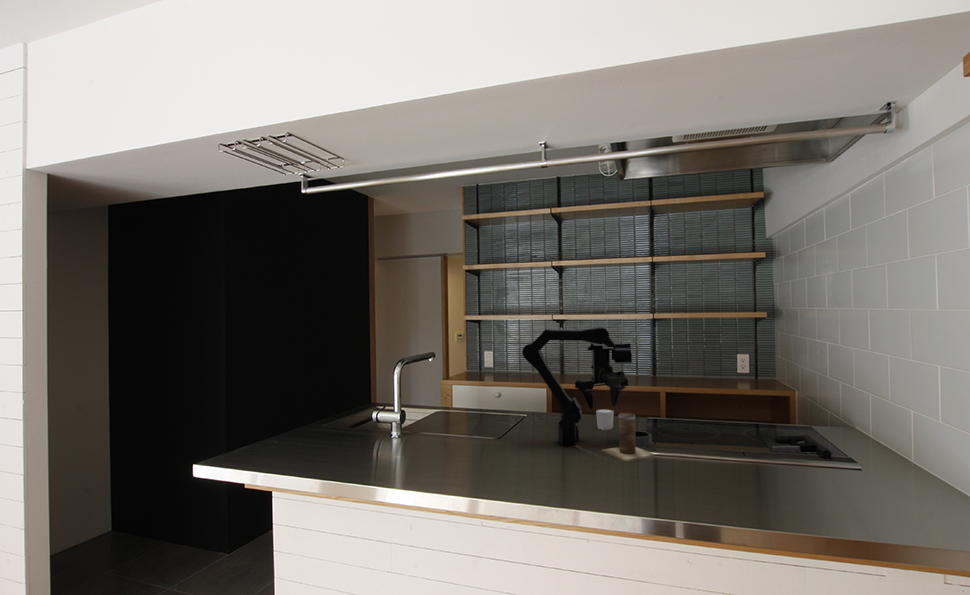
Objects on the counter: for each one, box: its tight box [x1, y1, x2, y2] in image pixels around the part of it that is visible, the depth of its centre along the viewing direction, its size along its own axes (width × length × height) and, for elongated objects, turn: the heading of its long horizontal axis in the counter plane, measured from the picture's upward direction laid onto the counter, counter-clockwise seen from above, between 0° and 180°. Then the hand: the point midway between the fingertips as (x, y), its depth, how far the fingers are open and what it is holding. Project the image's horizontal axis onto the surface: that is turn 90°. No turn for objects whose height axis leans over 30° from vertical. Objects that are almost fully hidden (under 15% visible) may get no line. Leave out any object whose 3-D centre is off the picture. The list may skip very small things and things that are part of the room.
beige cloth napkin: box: [600, 446, 656, 462], centre depth 168 cm, size 12×12×2 cm
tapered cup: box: [618, 412, 636, 454], centre depth 168 cm, size 5×5×12 cm
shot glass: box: [595, 408, 615, 431], centre depth 206 cm, size 7×7×7 cm
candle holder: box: [635, 430, 654, 448], centre depth 181 cm, size 10×10×4 cm
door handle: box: [771, 434, 832, 458], centre depth 173 cm, size 3×20×16 cm
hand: (602, 407), depth 183 cm, fingers open, 9 cm apart
